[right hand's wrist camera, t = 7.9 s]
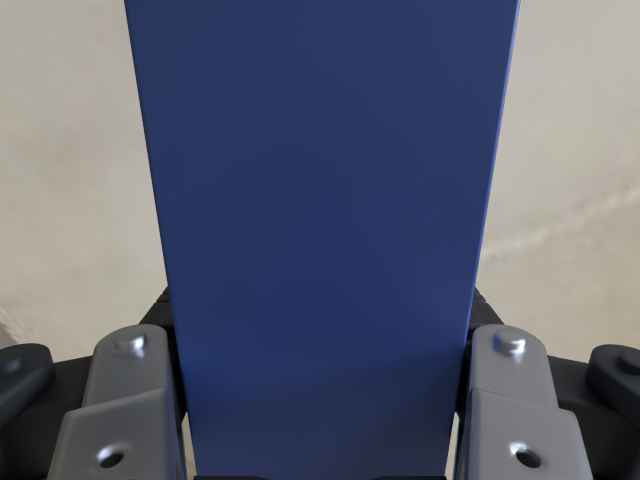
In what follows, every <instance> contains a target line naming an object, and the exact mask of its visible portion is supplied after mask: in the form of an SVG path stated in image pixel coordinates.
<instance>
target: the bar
mask: <svg viewBox="0 0 640 480" xmlns="http://www.w3.org/2000/svg"><path fill="white" fill-rule="evenodd" d="M520 1H521V0H124V4H125V10H126V17H127V23H128V30H129V36H130V43H131V49H132V56H133V62H134V69H135V75H136V82H137V88H138V95H139V101H140V108H141V114H142V121H143V127H144V134H145V140H146V147H147V153H148V159H149V166H150V172H151V179H152V185H153V192H154V198H155V205H156V211H157V218H158V224H159V231H160V237H161V244H162V250H163V257H164V263H165V270H166V276H167V283H168V289H169V296H170V302H171V309H172V315H173V322H174V328H175V335H176V341H177V348H178V354H179V361H180V367H181V374H182V380H183V387H184V393H185V400H186V406H187V413H188V419H189V426H190V432H191V439H192V445H193V452H194V458H195V465H196V471H197V476H258V477H262V478H266V479H270V480H370V479H374V478H378V477H382V476H444V475H445V469H446V463H447V457H448V450H449V444H450V438H451V432H452V425H453V419H454V413H455V407H456V400H457V394H458V388H459V382H460V376H461V369H462V363H463V357H464V351H465V344H466V338H467V332H468V326H469V319H470V313H471V307H472V301H473V294H474V288H475V282H476V276H477V270H478V263H479V257H480V251H481V245H482V238H483V232H484V226H485V220H486V213H487V207H488V201H489V195H490V188H491V182H492V176H493V170H494V164H495V157H496V151H497V145H498V139H499V132H500V126H501V120H502V114H503V107H504V101H505V95H506V89H507V82H508V76H509V70H510V64H511V58H512V51H513V45H514V39H515V33H516V26H517V20H518V14H519V8H520Z"/></svg>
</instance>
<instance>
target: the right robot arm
mask: <svg viewBox="0 0 640 480" xmlns="http://www.w3.org/2000/svg"><path fill="white" fill-rule="evenodd" d="M186 412H187V406H186V400H185V393H184V387H183V380H182V374H181V367H180V361H179V354H178V348H177V341H176V335H175V328H174V322H173V315H172V309H171V302H170V296H169V289H168V286H167V287H166V289H165V290H164V291H163V294H161V295H160V297H159V298H158V299H157V302H156V303H154V304H153V306H152V307H151V308H150V310H149V311H148V312H147V314H146V315H145V316H144V317H143V319H142V320H141V321H140V323H139V324H138V325H132V326H128V327H124V328H121V329H119V330H116V331H114V332H112V333H110V334H108V335H107V336H105V337H104V338H103V339H101V340H100V341H99V342H98V343H97V345H96V346H95V349H94V352H93V355H92V356H87V357H83V358H77V359H72V360H67V361H62V362H57V363H53V360H52V357H51V353H50V350H49V348H47V347H46V346H44V345H41V344H35V343H27V344H19V345H14V346H10V347H7V348H3V349H0V480H187V470H186V459H185V448H184V437H183V429H182V421H183V419H184V416H185V414H186ZM455 412H457V414H458V417H459V423H458V430H457V437H456V448H455V459H454V470H453V480H640V350H638V349H635V348H631V347H627V346H622V345H611V344H608V345H601V346H598V347H595V348H594V349H593V351H592V353H591V356H590V360H589V363H583V362H578V361H573V360H567V359H562V358H557V357H553V356H549V355H547V352H546V349H545V346H544V345H543V343H542V342H541V341H540V340H539V339H537V338H536V337H535V336H533V335H532V334H530V333H528V332H526V331H524V330H521V329H519V328H516V327H512V326H508V325H505V324H504V323H503V322H502V321H501V319H500V318H499V317H498V315H497V314H496V313H495V312H494V310H493V309H492V308H491V306H490V305H489V304H488V303H486V300H485V299H484V297H483V296H482V295H480V292H479V291H478V290H477V288H476V287H475V288H474V294H473V301H472V307H471V313H470V319H469V326H468V332H467V338H466V344H465V351H464V357H463V363H462V369H461V376H460V382H459V388H458V394H457V400H456V407H455ZM193 480H270V479H266V478H262V477H258V476H194V479H193ZM370 480H447V479H446V476H382V477H378V478H374V479H370Z"/></svg>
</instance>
